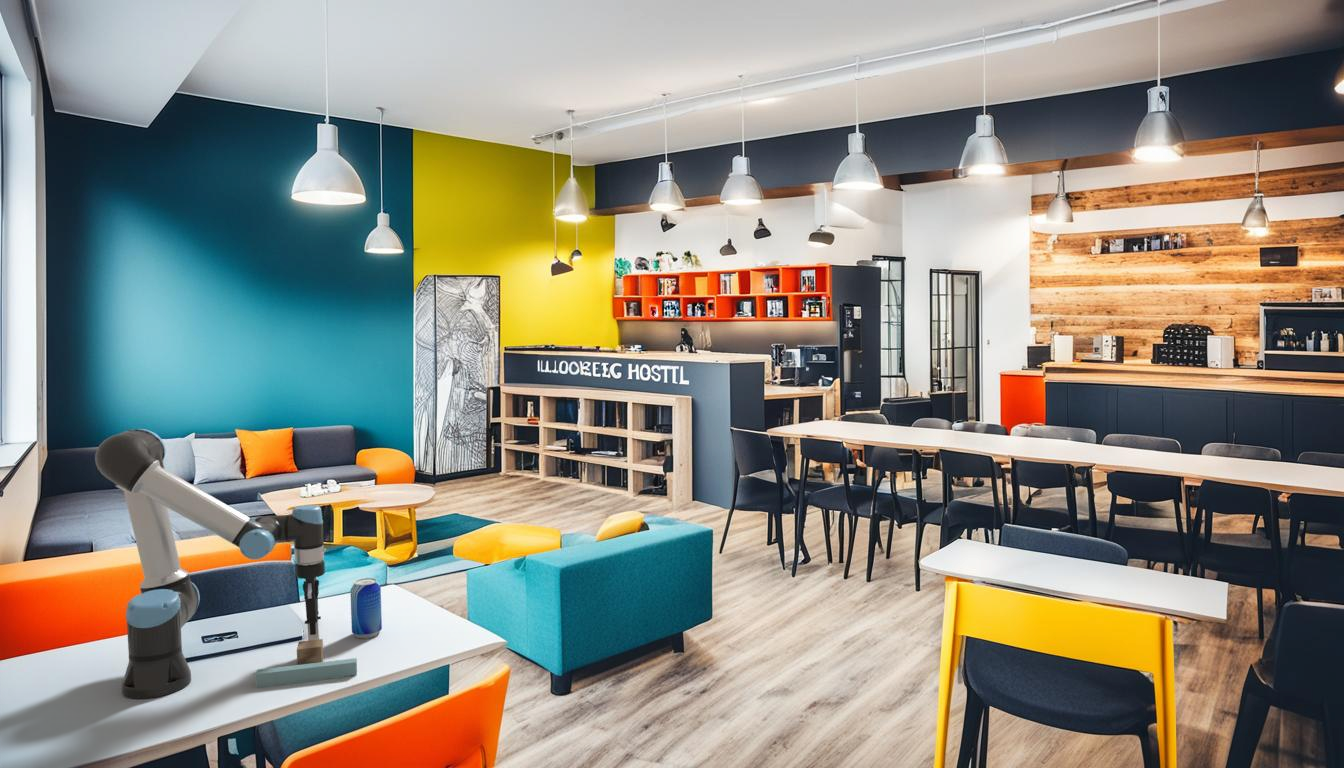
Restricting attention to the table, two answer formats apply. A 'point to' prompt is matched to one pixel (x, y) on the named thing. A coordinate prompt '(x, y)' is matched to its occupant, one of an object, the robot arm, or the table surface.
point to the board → (305, 672)
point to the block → (310, 652)
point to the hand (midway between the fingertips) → (314, 644)
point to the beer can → (366, 608)
